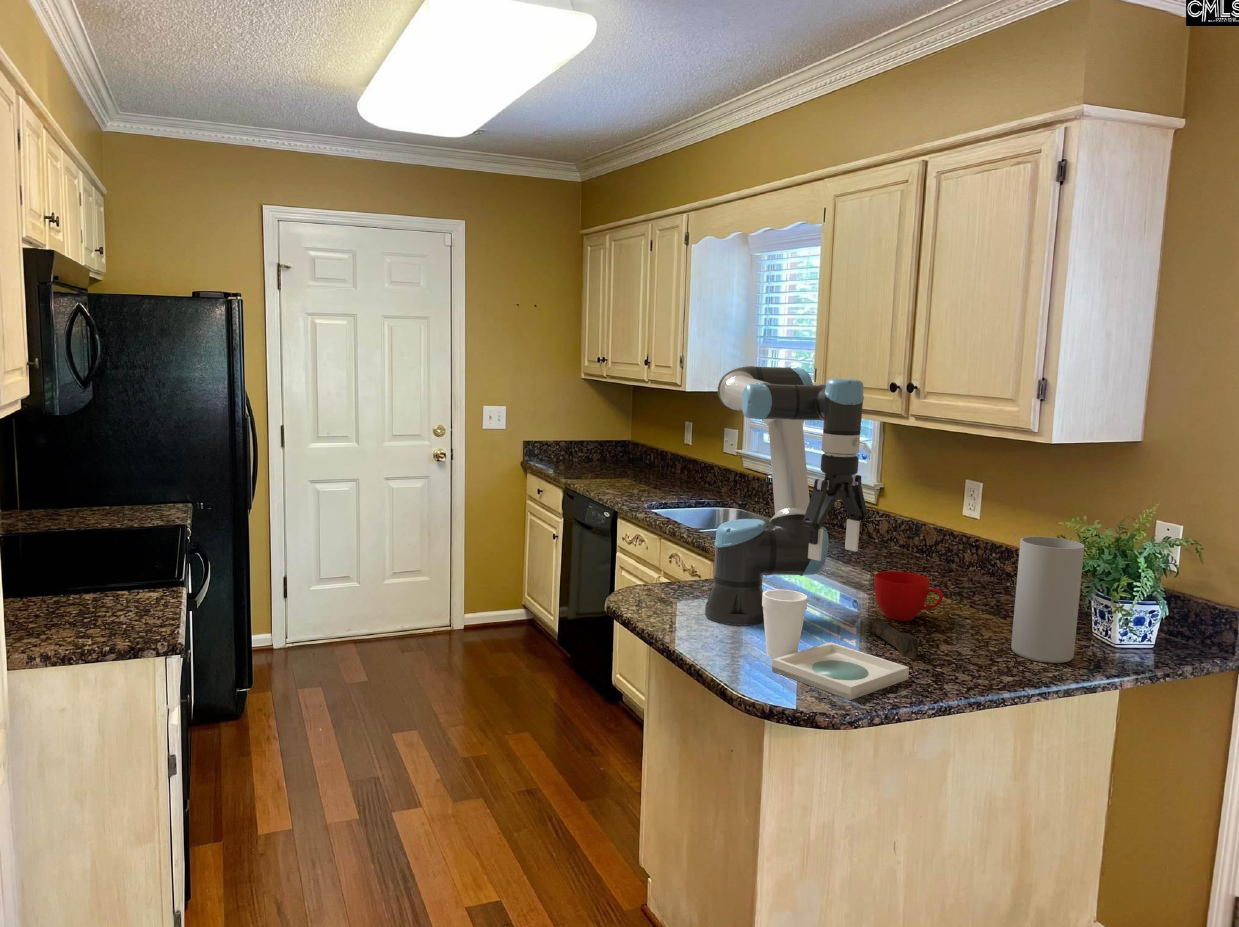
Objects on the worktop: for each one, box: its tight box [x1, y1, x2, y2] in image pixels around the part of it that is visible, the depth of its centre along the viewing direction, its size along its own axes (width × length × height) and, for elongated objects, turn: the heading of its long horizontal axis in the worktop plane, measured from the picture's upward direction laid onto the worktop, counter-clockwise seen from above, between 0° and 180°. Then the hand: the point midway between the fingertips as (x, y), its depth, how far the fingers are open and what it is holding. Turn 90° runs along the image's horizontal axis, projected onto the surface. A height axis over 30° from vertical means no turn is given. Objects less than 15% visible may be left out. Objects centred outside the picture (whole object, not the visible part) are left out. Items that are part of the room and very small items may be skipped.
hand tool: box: [868, 617, 919, 661], centre depth 207 cm, size 19×4×5 cm, turn 8°
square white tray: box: [771, 641, 910, 701], centre depth 187 cm, size 19×19×2 cm
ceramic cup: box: [873, 570, 944, 622], centre depth 228 cm, size 13×17×10 cm
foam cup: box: [762, 589, 808, 659], centre depth 198 cm, size 10×9×13 cm
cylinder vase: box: [1010, 536, 1085, 664], centre depth 203 cm, size 12×12×25 cm
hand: (833, 554), depth 196 cm, fingers open, 13 cm apart
